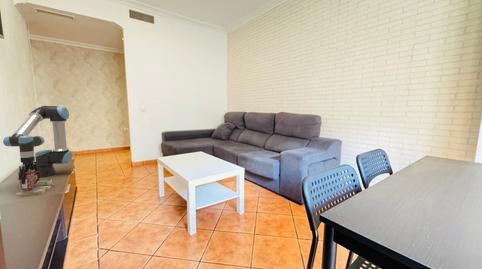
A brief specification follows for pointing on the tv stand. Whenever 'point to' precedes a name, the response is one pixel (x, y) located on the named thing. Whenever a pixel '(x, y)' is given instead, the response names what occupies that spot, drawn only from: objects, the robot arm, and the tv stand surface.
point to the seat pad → (30, 190)
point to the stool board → (43, 189)
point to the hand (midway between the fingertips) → (30, 185)
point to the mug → (30, 179)
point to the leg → (44, 182)
